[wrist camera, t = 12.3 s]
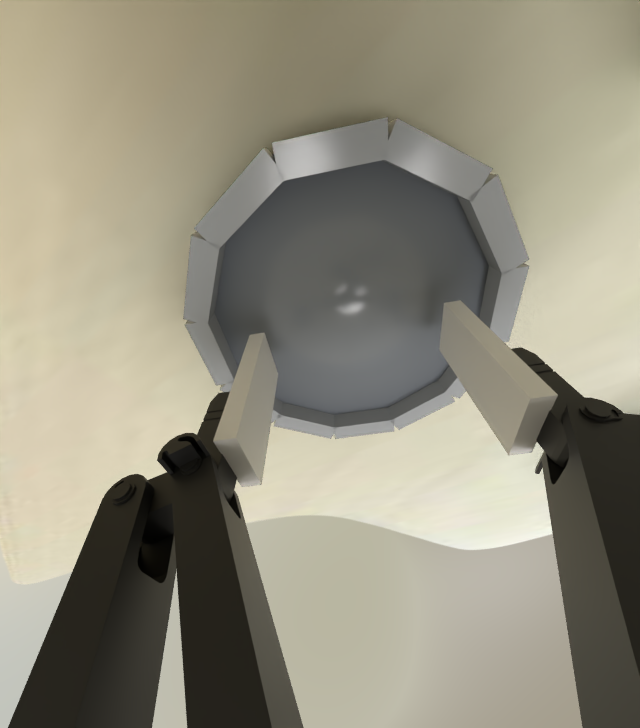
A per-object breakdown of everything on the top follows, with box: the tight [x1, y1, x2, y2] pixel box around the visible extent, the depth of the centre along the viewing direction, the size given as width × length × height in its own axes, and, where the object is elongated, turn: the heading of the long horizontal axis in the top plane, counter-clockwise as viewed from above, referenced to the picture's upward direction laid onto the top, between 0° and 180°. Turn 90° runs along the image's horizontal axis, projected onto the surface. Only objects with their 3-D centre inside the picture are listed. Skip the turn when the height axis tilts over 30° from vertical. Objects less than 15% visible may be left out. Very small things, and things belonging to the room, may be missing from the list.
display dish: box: [183, 117, 529, 439], centre depth 16 cm, size 17×17×2 cm
